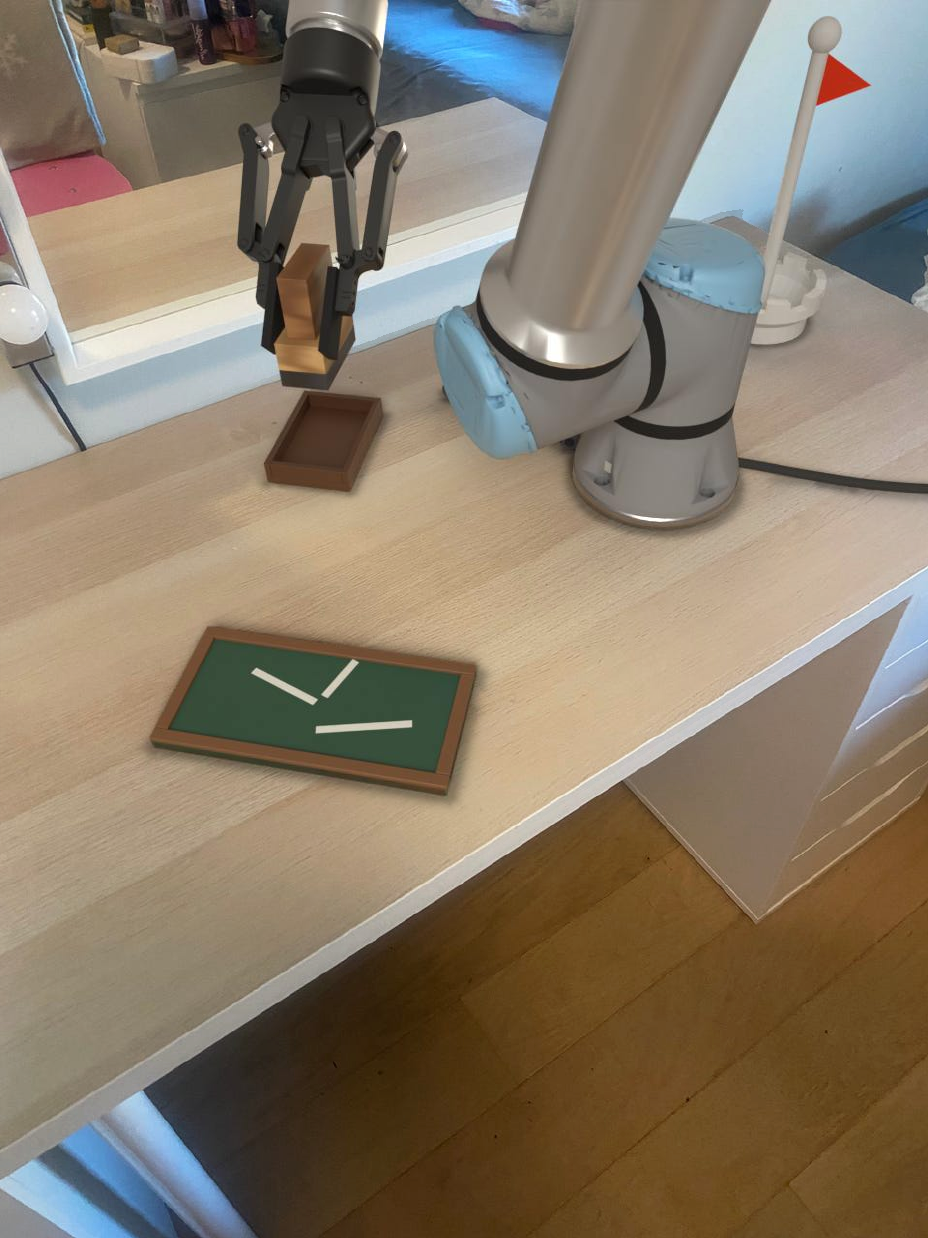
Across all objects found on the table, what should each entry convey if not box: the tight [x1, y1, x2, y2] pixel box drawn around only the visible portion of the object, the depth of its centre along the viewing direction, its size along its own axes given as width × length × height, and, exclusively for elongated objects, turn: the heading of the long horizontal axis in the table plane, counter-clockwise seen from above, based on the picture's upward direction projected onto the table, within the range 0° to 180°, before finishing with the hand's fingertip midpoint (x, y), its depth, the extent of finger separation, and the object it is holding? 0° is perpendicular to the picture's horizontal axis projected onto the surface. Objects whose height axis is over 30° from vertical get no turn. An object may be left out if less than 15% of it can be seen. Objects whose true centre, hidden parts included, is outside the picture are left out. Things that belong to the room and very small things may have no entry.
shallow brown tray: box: [263, 390, 384, 493], centre depth 88 cm, size 8×12×2 cm
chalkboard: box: [149, 625, 477, 797], centre depth 67 cm, size 22×11×1 cm, turn 79°
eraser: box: [274, 242, 357, 392], centre depth 73 cm, size 4×8×9 cm, turn 168°
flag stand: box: [751, 15, 872, 346], centre depth 92 cm, size 13×13×30 cm
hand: (299, 352), depth 71 cm, fingers closed on eraser, 4 cm apart
